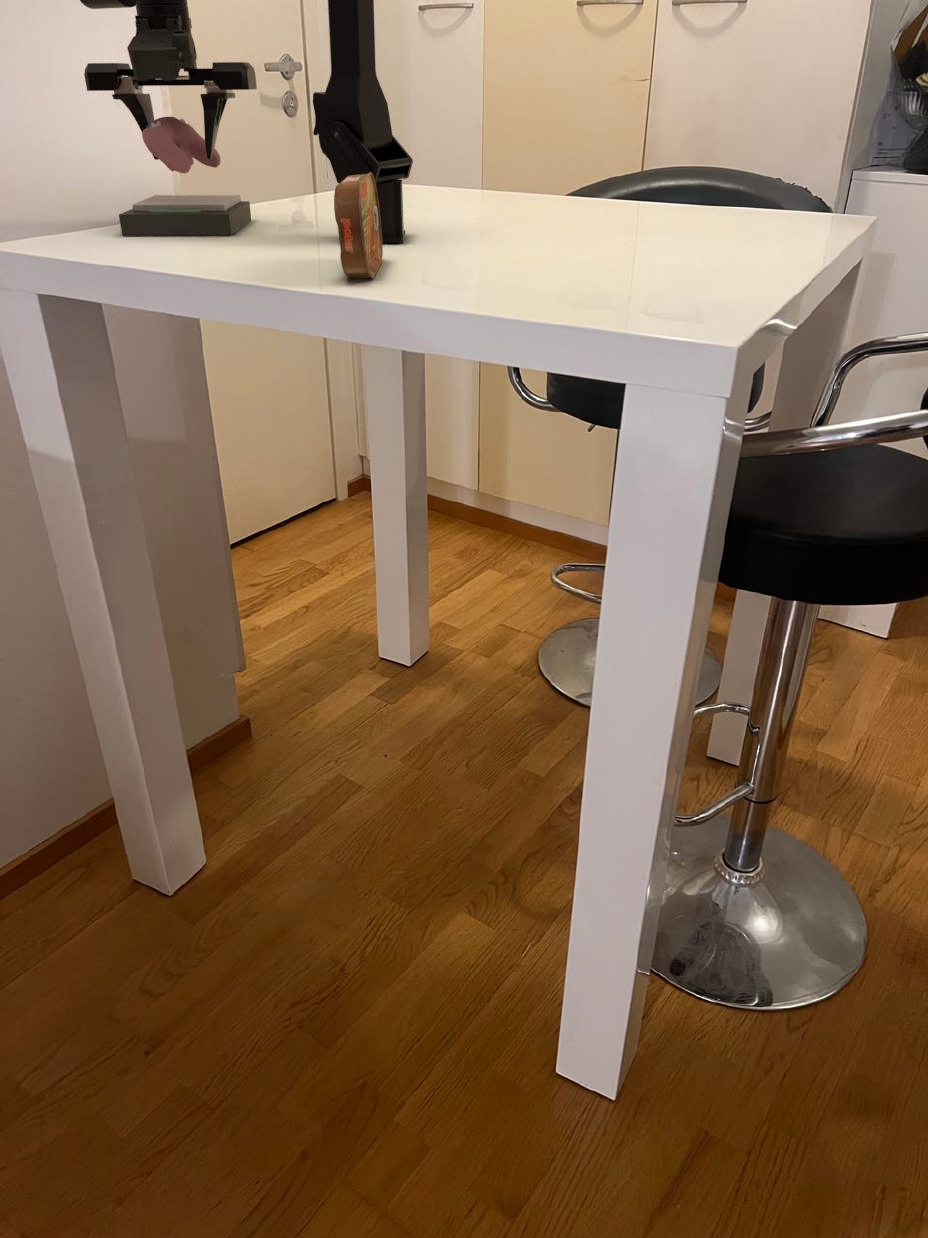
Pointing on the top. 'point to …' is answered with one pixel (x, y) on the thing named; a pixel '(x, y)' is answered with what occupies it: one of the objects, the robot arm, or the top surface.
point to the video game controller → (177, 144)
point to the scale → (186, 216)
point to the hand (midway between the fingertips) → (183, 159)
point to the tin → (359, 225)
